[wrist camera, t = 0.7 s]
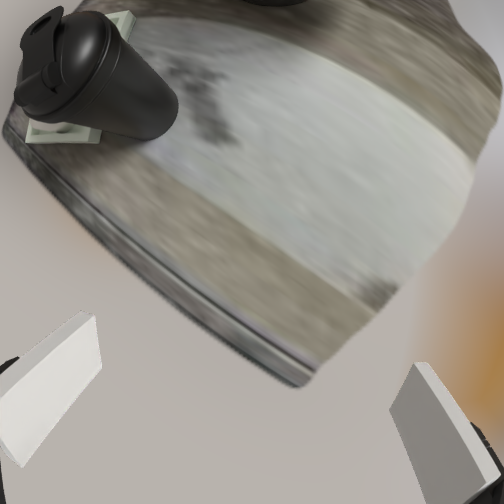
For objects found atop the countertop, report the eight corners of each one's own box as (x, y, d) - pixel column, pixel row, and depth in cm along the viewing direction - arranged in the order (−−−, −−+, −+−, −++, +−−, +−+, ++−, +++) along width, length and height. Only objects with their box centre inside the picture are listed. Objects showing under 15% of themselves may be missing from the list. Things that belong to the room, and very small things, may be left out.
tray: (69, 32, 30) (60, 27, 27) (136, 18, 29) (128, 10, 26) (36, 144, 34) (25, 142, 32) (99, 143, 34) (87, 141, 31)
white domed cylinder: (58, 99, 32) (35, 91, 26) (84, 96, 32) (60, 86, 26) (50, 134, 33) (25, 130, 27) (75, 133, 33) (50, 127, 27)
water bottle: (180, 70, 31) (96, -27, 9) (188, 136, 34) (83, 75, 11) (116, 91, 32) (5, 36, 10) (121, 155, 34) (-11, 137, 12)
